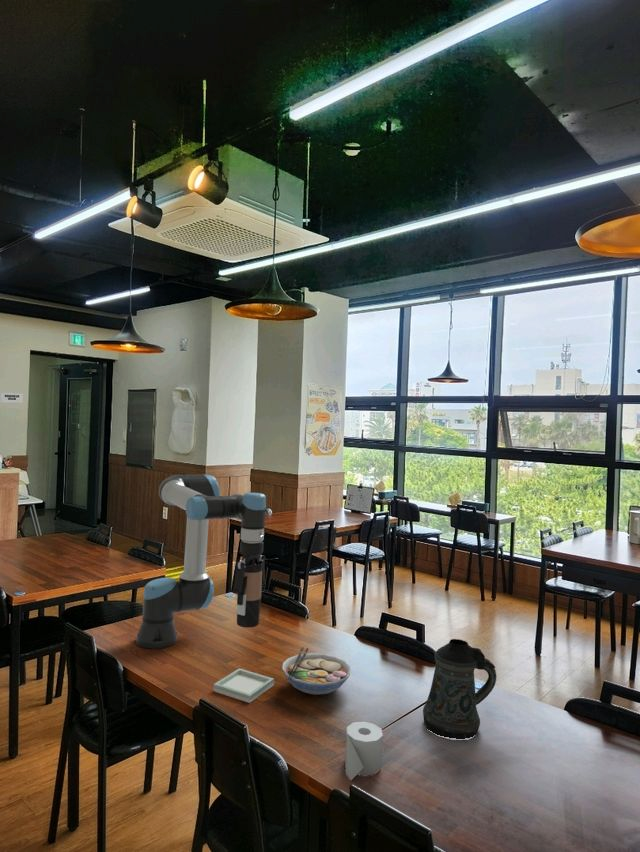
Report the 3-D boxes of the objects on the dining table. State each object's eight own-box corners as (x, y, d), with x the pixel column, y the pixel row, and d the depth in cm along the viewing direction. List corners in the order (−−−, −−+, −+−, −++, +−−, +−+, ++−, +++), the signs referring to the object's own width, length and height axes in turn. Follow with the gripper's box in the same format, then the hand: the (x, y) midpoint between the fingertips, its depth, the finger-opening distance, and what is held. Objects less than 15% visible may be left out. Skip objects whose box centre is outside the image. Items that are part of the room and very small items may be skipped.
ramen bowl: (343, 714, 165) (345, 686, 166) (271, 702, 170) (272, 676, 170) (355, 678, 190) (356, 654, 190) (291, 669, 195) (292, 645, 195)
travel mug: (257, 628, 175) (261, 565, 175) (234, 627, 175) (237, 564, 175) (261, 620, 182) (264, 560, 183) (238, 618, 183) (241, 558, 183)
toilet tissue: (346, 785, 132) (348, 749, 132) (344, 753, 145) (346, 720, 146) (383, 787, 132) (385, 751, 132) (378, 755, 145) (380, 722, 145)
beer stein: (412, 715, 167) (416, 633, 167) (465, 707, 173) (469, 628, 174) (442, 746, 151) (447, 655, 151) (500, 735, 158) (504, 648, 158)
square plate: (213, 691, 175) (213, 684, 175) (238, 674, 188) (239, 668, 188) (249, 703, 169) (250, 695, 169) (273, 685, 181) (274, 678, 181)
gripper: (243, 547, 168) (239, 622, 168) (278, 537, 186) (274, 604, 186) (223, 544, 171) (219, 617, 171) (259, 534, 190) (256, 600, 190)
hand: (248, 610), depth 179 cm, fingers closed on travel mug, 8 cm apart
